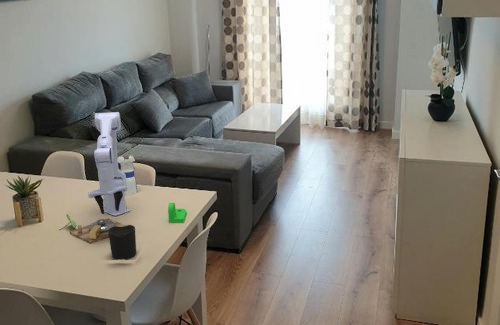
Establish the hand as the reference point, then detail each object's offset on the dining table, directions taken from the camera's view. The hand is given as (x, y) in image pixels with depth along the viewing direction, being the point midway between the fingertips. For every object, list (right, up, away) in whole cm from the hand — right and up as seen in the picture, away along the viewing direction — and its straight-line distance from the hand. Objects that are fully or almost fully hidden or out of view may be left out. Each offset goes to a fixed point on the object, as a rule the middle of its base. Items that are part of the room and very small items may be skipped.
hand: (110, 211), depth 213 cm
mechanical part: (+24, -5, +21) cm, 32 cm away
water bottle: (-3, +3, +49) cm, 49 cm away
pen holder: (+9, -15, -13) cm, 21 cm away
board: (-5, -8, +9) cm, 13 cm away
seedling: (-23, -9, +11) cm, 27 cm away
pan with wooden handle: (-6, -8, +6) cm, 11 cm away
